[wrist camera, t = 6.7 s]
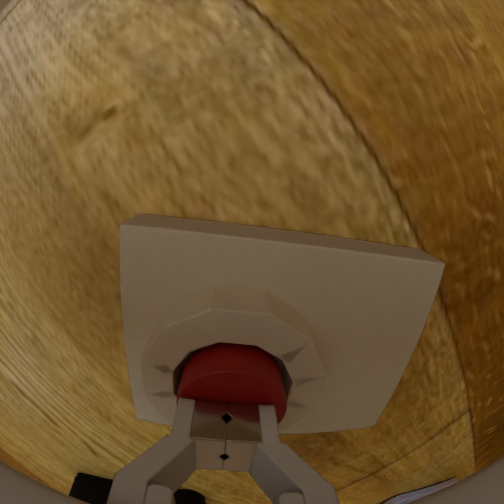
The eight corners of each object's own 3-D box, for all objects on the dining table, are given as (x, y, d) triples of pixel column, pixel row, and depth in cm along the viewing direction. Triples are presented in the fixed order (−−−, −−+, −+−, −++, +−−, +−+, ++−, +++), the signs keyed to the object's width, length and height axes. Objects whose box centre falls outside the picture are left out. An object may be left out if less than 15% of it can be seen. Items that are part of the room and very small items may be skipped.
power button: (289, 342, 10) (298, 375, 8) (271, 410, 11) (276, 442, 9) (183, 332, 9) (174, 364, 8) (183, 403, 10) (177, 435, 9)
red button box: (420, 249, 12) (472, 278, 9) (362, 402, 15) (384, 449, 11) (138, 213, 11) (95, 236, 7) (145, 392, 14) (128, 445, 10)
